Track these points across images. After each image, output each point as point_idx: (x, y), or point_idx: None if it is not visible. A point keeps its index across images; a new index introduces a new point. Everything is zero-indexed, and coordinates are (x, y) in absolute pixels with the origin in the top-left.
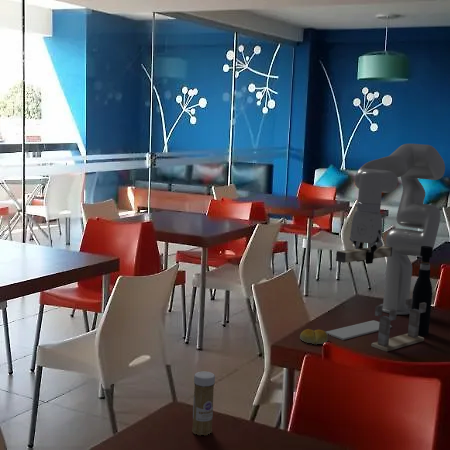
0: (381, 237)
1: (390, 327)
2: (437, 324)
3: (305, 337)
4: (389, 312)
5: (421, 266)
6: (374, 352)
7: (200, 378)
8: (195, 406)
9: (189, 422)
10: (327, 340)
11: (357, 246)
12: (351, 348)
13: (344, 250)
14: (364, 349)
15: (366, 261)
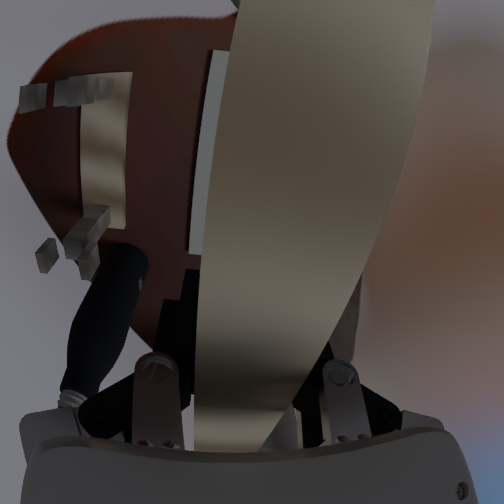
0: None
1: (189, 246)
2: (150, 333)
3: None
4: (33, 84)
5: (73, 401)
6: (104, 44)
7: None
8: None
9: None
10: (234, 2)
11: (337, 389)
12: (160, 17)
13: (418, 75)
14: (132, 39)
15: (188, 278)
